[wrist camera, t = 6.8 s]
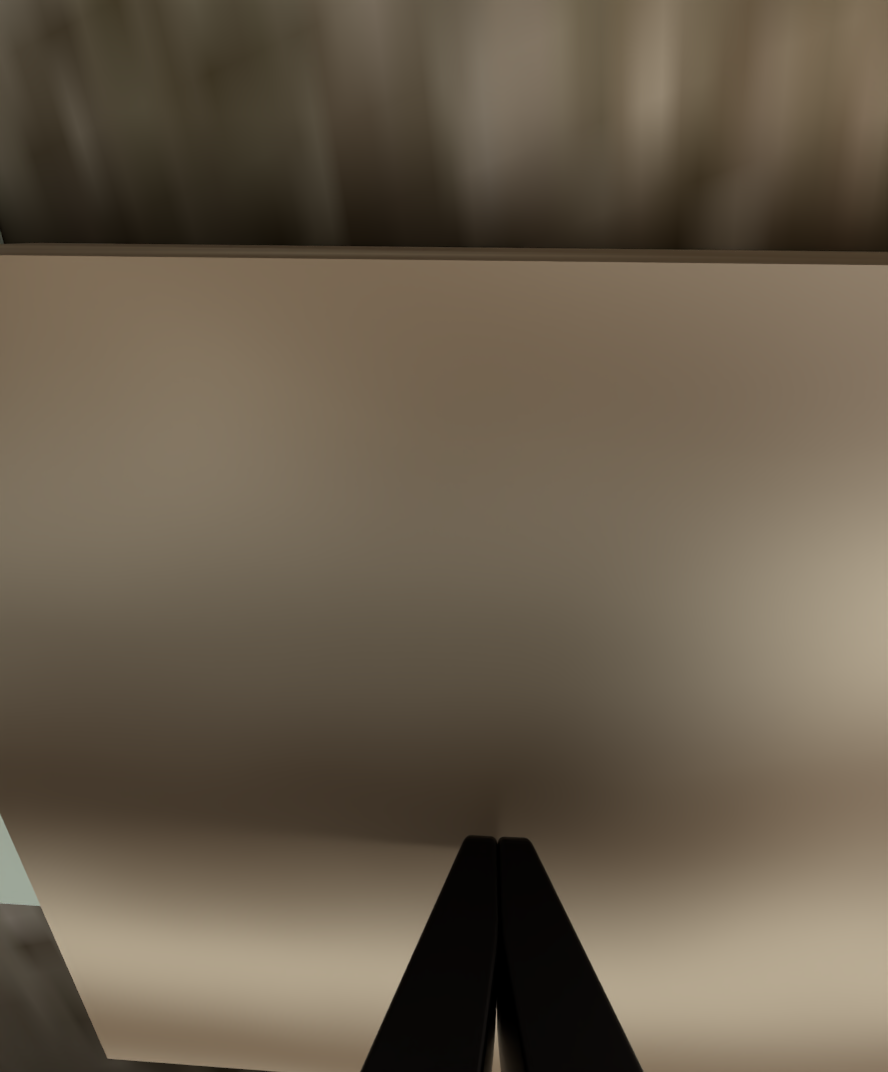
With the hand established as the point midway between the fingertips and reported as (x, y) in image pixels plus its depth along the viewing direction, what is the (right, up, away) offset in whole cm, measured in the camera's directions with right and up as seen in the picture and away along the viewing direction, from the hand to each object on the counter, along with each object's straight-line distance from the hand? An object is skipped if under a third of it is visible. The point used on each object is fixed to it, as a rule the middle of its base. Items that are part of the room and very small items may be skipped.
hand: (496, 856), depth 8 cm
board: (+1, +2, +4) cm, 4 cm away
